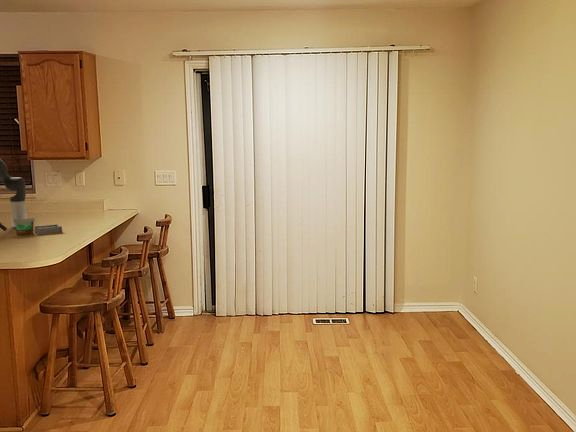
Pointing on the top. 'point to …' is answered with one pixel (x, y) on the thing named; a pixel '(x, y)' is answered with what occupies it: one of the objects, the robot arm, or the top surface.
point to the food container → (24, 226)
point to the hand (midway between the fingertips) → (6, 229)
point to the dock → (48, 229)
